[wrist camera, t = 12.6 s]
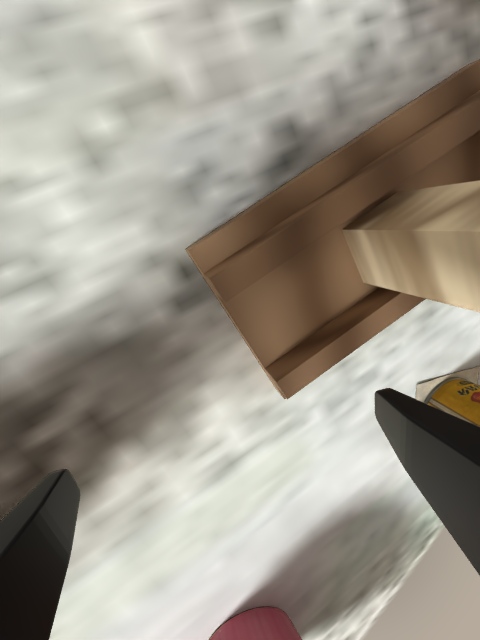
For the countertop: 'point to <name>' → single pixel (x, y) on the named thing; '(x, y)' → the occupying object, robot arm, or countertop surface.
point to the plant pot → (258, 626)
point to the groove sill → (335, 236)
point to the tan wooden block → (423, 244)
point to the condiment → (454, 394)
